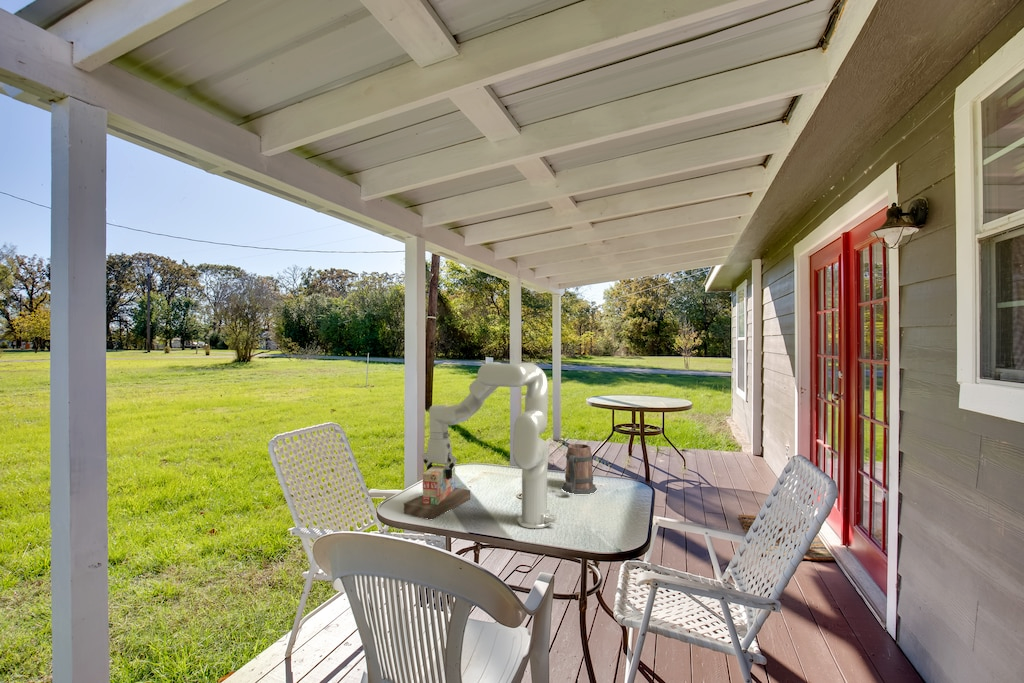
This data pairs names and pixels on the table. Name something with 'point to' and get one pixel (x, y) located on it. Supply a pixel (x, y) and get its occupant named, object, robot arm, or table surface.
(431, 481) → the stack of blocks
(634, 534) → the table surface
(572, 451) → the tankard
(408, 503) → the plinth
